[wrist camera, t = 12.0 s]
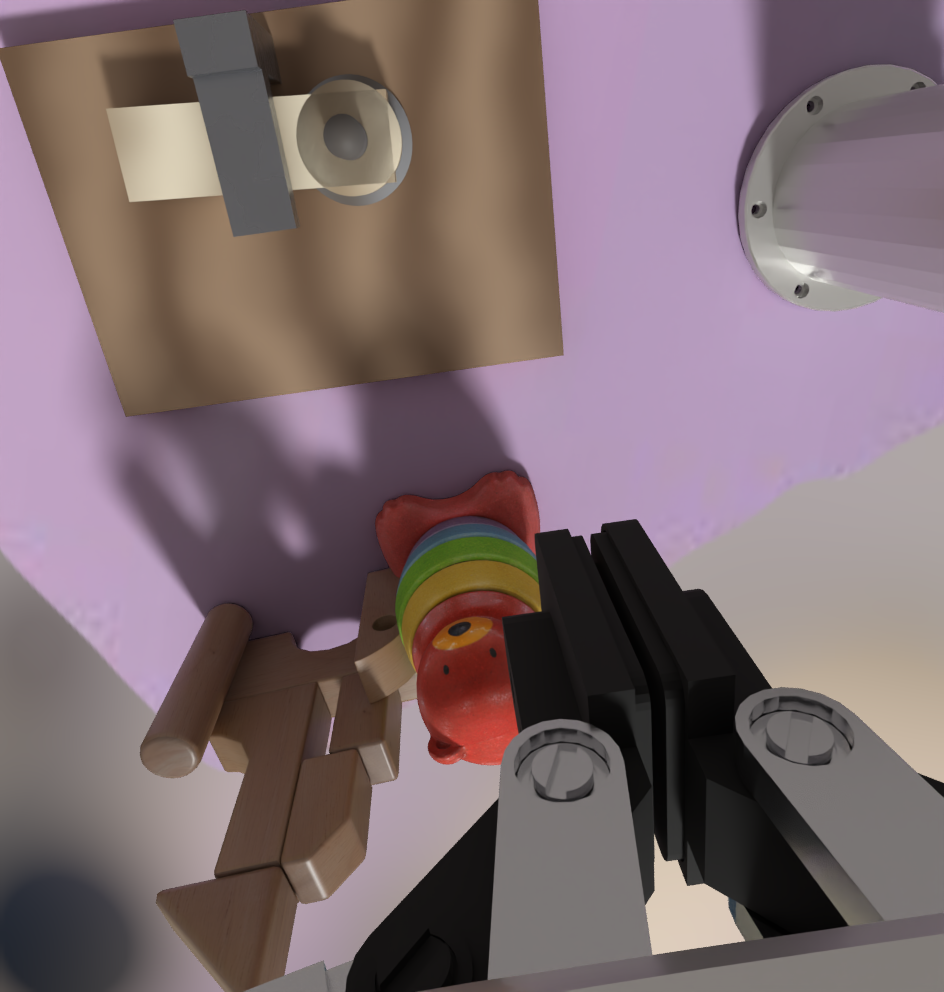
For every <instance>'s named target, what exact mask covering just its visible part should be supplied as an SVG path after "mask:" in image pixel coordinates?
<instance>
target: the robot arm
mask: <svg viewBox="0 0 944 992" xmlns="http://www.w3.org/2000/svg"><path fill="white" fill-rule="evenodd" d="M808 102H809V103H810V110H809V111H808V112H807V103H808ZM753 205H755V206H756V211H755V212H754V213H753V214H752V212H751V210H752V206H753ZM738 220H739V229H740V239H741V242H742V245H743V248H744V252H745V255H746V258H747V260H748V262H749V264H750V265H751V267H752V269H753V271H754V273H755V274H756V276H757V277H758V278H759V279H760V280H761V281H762V283H763V284H764V285H765V286H766V287H767V288H768V289H769V290H770V291H772V292H773V293H775V294H776V295H778V296H779V297H780V298H782V299H783V300H786V301H788V302H791V303H793V304H796V305H798V306H801V307H805V308H809V309H813V310H819V311H842V310H849V309H855V308H858V307H861V306H864V305H867V304H870V303H873V302H876V301H878V300H879V299H881V298H886V299H890V300H894V301H898V302H902V303H906V304H910V305H914V306H918V307H922V308H926V309H930V310H934V311H938V312H942V313H944V84H940V85H938V84H937V83H935V82H934V81H933V80H932V79H931V78H929V77H927V76H925V75H923V74H921V73H919V72H917V71H915V70H913V69H910V68H906V67H901V66H896V65H892V64H884V65H866V66H862V67H857V68H853V69H848V70H846V71H843V72H840V73H837V74H834V75H832V76H829V77H826V78H824V79H823V80H821V81H819V82H818V83H816V84H814V85H813V86H811V87H809V88H807V89H806V90H804V91H803V92H802V93H801V94H800V95H798V96H797V97H796V98H795V99H794V100H792V101H791V102H790V103H789V104H788V105H787V106H785V108H784V109H783V110H782V111H781V112H780V113H779V115H778V116H777V117H776V118H775V119H774V120H773V122H772V123H771V124H770V125H769V126H768V128H767V130H766V131H765V133H764V134H763V136H762V138H761V139H760V141H759V142H758V144H757V146H756V147H755V150H754V152H753V154H752V157H751V159H750V161H749V164H748V166H747V169H746V171H745V175H744V179H743V183H742V188H741V192H740V200H739V213H738ZM797 286H798V290H797V291H796V292H795V293H794V291H795V288H796V287H797ZM590 543H591V554H590V552H589V550H588V547H587V545H586V543H585V541H584V539H583V537H582V536H575V537H571V535H570V532H569V530H568V529H563V530H556V531H549V532H542V533H535V551H536V560H537V570H538V580H539V590H540V600H541V610H542V611H540V612H533V613H526V614H519V615H512V616H505V617H502V625H503V633H504V641H505V649H506V656H507V664H508V671H509V678H510V685H511V691H512V698H513V704H514V710H515V716H516V722H517V727H518V733H519V734H518V735H517V736H515V737H514V738H513V739H512V741H511V742H510V743H509V745H508V746H507V748H506V749H505V751H504V754H503V758H502V762H501V771H500V788H499V798H498V799H497V800H496V801H495V802H494V804H493V805H492V806H491V807H490V808H489V809H488V810H487V811H486V812H485V813H484V814H483V815H482V816H481V817H480V818H479V819H478V821H477V822H476V823H475V824H474V825H473V826H472V827H471V828H470V829H469V830H468V831H467V832H466V833H465V834H464V835H463V837H462V838H461V839H460V840H459V841H458V842H457V843H456V844H455V845H454V846H453V847H452V848H451V849H450V850H449V852H448V853H447V854H446V855H445V856H444V857H443V858H442V859H441V860H440V861H439V862H438V863H437V864H436V865H435V866H434V867H433V869H432V870H431V871H430V872H429V873H428V874H427V875H426V876H425V877H424V878H423V879H422V880H421V881H420V882H419V884H418V885H417V886H416V887H415V888H414V889H413V890H412V891H411V892H410V893H409V894H408V895H407V896H406V897H405V898H404V899H403V901H401V903H400V904H399V905H398V906H397V907H396V908H395V909H394V910H393V911H392V912H391V913H390V914H389V915H388V916H387V917H386V919H385V920H384V921H383V922H382V923H381V924H380V925H379V926H378V927H377V928H376V929H375V930H374V931H373V932H372V933H371V935H370V936H369V937H368V938H367V940H366V941H365V943H364V944H363V945H362V947H361V948H360V950H359V951H358V952H357V954H356V955H355V958H354V960H352V961H349V962H347V963H344V964H342V965H339V966H336V967H334V968H331V969H329V970H327V969H326V966H325V964H324V961H321V962H318V963H316V964H313V965H311V966H308V967H305V968H303V969H300V970H298V971H295V972H292V973H290V974H287V975H285V976H282V977H279V978H277V979H274V980H272V981H269V982H267V983H264V984H261V985H259V986H256V987H254V988H251V989H249V990H246V991H243V992H944V783H942V782H940V781H937V780H934V779H932V778H929V777H927V776H924V775H921V774H919V773H917V772H916V771H915V770H914V769H913V768H911V766H909V765H908V764H907V763H906V762H905V761H904V760H903V759H902V758H901V757H900V756H899V755H898V754H897V753H896V752H895V751H894V750H893V749H891V748H890V747H889V746H888V745H887V744H886V743H885V742H884V741H883V740H882V739H881V738H880V737H879V736H878V735H876V733H875V732H873V731H872V730H871V729H870V728H869V727H868V726H867V725H866V724H865V723H864V722H863V721H862V720H861V719H860V718H859V717H858V716H856V715H855V714H854V713H853V712H852V711H850V710H849V709H848V708H846V707H845V706H844V705H842V704H841V703H839V702H837V701H835V700H833V699H831V698H829V697H827V696H825V695H823V694H820V693H816V692H812V691H808V690H805V689H799V688H785V687H780V688H774V689H772V687H771V686H770V685H769V683H768V682H767V680H766V679H765V677H764V676H763V674H762V673H761V672H760V670H759V669H758V667H757V666H756V664H755V663H754V661H753V660H752V658H751V657H750V656H749V654H748V653H747V651H746V650H745V648H744V647H743V645H742V644H741V643H740V641H739V640H738V638H737V637H736V635H735V634H734V632H733V631H732V629H731V628H730V627H729V625H728V624H727V622H726V621H725V619H724V618H723V617H722V615H721V613H720V612H719V611H718V609H717V608H716V606H715V605H714V603H713V602H712V601H711V599H710V598H709V596H708V595H707V594H706V593H705V592H704V591H703V590H701V589H694V590H687V591H682V589H681V588H680V586H679V585H678V583H677V582H676V580H675V578H674V577H673V575H672V574H671V572H670V570H669V569H668V567H667V566H666V564H665V563H664V561H663V559H662V558H661V556H660V555H659V553H658V552H657V550H656V548H655V547H654V545H653V544H652V542H651V540H650V539H649V537H648V536H647V534H646V533H645V531H644V529H643V528H642V526H641V525H640V523H639V522H638V521H637V519H633V520H626V521H619V522H612V523H605V524H602V527H601V533H596V534H591V538H590ZM654 834H655V837H656V840H657V843H658V846H659V848H660V851H661V854H662V856H663V858H664V860H666V861H672V860H678V862H679V865H680V868H681V870H682V873H683V876H684V879H685V881H686V884H687V886H690V885H696V884H703V883H705V884H706V885H708V886H710V887H712V888H713V889H715V890H717V891H719V892H721V893H722V894H724V895H726V896H727V897H728V905H729V909H730V912H731V914H732V917H733V919H734V922H735V924H736V926H737V927H738V929H739V931H740V933H741V934H742V936H743V937H744V939H745V942H738V943H731V944H724V945H717V946H711V947H703V948H697V949H690V950H684V951H677V952H670V953H663V954H657V955H652V950H651V943H650V936H649V929H648V922H647V915H646V909H645V905H646V903H647V901H648V900H649V898H650V897H651V895H652V894H653V892H654V858H655V857H654Z"/></svg>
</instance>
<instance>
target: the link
mask: <svg viewBox="0 0 944 992" xmlns="http://www.w3.org/2000/svg"><path fill="white" fill-rule="evenodd" d="M273 101H274V106H275V111H276V115H277V120H278V124H279V129H280V134H281V138H282V143H283V148H284V152H285V157H286V162H287V166H288V171H289V176H290V180H291V185H292V190H300V189H313V188H326V189H328V190H330V191H332V192H334V193H336V194H340V195H344V196H361V195H366V194H370V193H373V192H375V191H377V190H379V189H380V188H382V187H383V186H384V185H385V184H387V183H394V182H397V179H396V170H397V168H398V166H399V163H400V160H401V155H402V134H401V129H400V126H399V123H398V120H397V118H396V115H395V113H394V111H393V110H392V108H391V106H390V105H389V102H388V93H387V91H386V89H377V90H375V89H373V88H372V87H370V86H368V85H366V84H364V83H361V82H358V81H354V80H335V81H332V82H328V83H326V84H324V85H322V86H321V87H319V88H318V89H316V90H315V91H314V92H313V93H312V94H307V95H293V96H279V97H273ZM106 111H107V115H108V119H109V123H110V127H111V131H112V135H113V139H114V143H115V147H116V151H117V155H118V159H119V163H120V167H121V171H122V175H123V178H124V182H125V186H126V190H127V194H128V198H129V202H138V201H153V200H166V199H180V198H193V197H206V196H220V195H223V194H222V190H221V186H220V182H219V178H218V174H217V170H216V166H215V163H214V159H213V155H212V151H211V147H210V143H209V139H208V135H207V131H206V127H205V123H204V119H203V115H202V111H201V107H200V104H199V102H194V103H180V104H166V105H151V106H137V107H123V108H109V109H106Z"/></svg>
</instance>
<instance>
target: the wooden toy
mask: <svg viewBox="0 0 944 992" xmlns="http://www.w3.org/2000/svg"><path fill="white" fill-rule="evenodd" d="M399 580H400V578H399V577H397V576H395V575H394V573H393V572H392V570H391V569H390V568H388V569H384V570H379V571H375V572H371V573H368V575H367V581H366V587H365V594H364V600H363V607H362V613H361V620H360V626H359V633H358V638H356V639H354V640H353V641H351V642H349V643H347V644H344V645H341V646H338V647H335V648H332V649H329V650H320V651H307V650H303V649H298V648H297V645H296V643H295V640H294V638H293V636H292V634H291V633H290V632H287V633H282V634H278V635H274V636H269V637H265V638H260V639H256V640H252V641H248V640H249V637H250V634H251V632H252V628H253V623H252V619H251V616H250V615H249V613H248V612H247V611H246V610H245V609H244V608H243V607H241V606H238V605H236V604H230V603H227V604H221V605H218V606H216V607H214V608H213V609H212V610H210V611H209V613H208V615H207V616H206V618H205V620H204V622H203V624H202V626H201V628H200V630H199V632H198V634H197V636H196V638H195V640H194V642H193V644H192V646H191V648H190V650H189V652H188V654H187V656H186V658H185V660H184V662H183V664H182V666H181V668H180V670H179V671H178V673H177V675H176V677H175V679H174V681H173V683H172V685H171V687H170V689H169V691H168V693H167V695H166V697H165V699H164V701H163V703H162V705H161V707H160V709H159V711H158V713H157V715H156V717H155V719H154V721H153V723H152V725H151V727H150V728H149V731H148V732H147V735H146V736H145V739H144V740H143V742H142V744H141V747H140V757H141V760H142V763H143V765H144V766H145V767H146V768H147V769H148V770H149V771H151V772H152V773H154V774H156V775H159V776H161V777H166V778H179V777H183V776H186V775H188V774H189V773H191V772H192V771H193V770H194V769H195V768H197V767H198V765H199V763H200V762H201V759H202V757H203V754H204V752H205V749H206V747H207V744H208V742H209V741H210V743H211V745H212V747H213V748H214V750H215V752H216V754H217V756H218V758H219V760H220V762H221V764H222V766H223V768H224V770H225V771H227V772H241V773H244V774H245V775H244V778H243V781H242V785H241V788H240V791H239V794H238V797H237V800H236V804H235V807H234V810H233V813H232V816H231V820H230V823H229V826H228V829H227V832H226V835H225V839H224V842H223V845H222V848H221V852H220V854H219V857H218V861H217V864H216V867H215V870H214V875H215V878H216V879H213V880H208V881H204V882H199V883H194V884H189V885H185V886H180V887H175V888H171V889H166V890H162V891H161V892H159V893H158V894H157V899H156V904H157V905H158V907H159V909H160V910H161V911H162V913H163V914H164V916H165V918H166V919H167V921H168V922H169V924H170V926H171V927H172V928H173V930H174V931H175V932H176V934H177V935H178V936H179V937H180V938H181V940H182V941H183V942H184V943H185V944H186V945H187V947H188V948H189V949H190V950H191V952H192V953H193V954H194V955H195V957H196V958H197V959H198V960H199V961H200V963H201V964H202V965H203V966H204V967H205V969H206V970H207V971H208V972H209V973H210V974H211V976H212V977H213V978H214V979H215V981H216V982H217V983H218V984H219V985H220V987H221V988H222V989H223V990H224V991H225V992H243V991H246V990H249V989H251V988H254V987H256V986H259V985H261V984H264V983H267V982H269V981H272V980H274V979H277V978H279V977H282V976H284V974H285V968H286V963H287V957H288V952H289V946H290V941H291V935H292V930H293V925H294V919H295V914H296V908H297V903H298V902H299V901H300V902H301V903H303V904H308V903H312V902H317V901H322V900H325V899H328V898H329V897H330V896H331V895H332V894H333V893H334V892H335V891H336V890H337V889H338V888H339V886H341V885H342V883H343V882H344V881H345V880H346V879H347V878H348V877H349V876H350V875H351V874H352V873H353V872H354V871H355V869H356V868H357V867H358V866H359V865H360V864H361V863H362V862H363V860H364V859H365V856H366V850H367V839H368V829H369V818H370V806H371V797H372V786H371V785H375V784H379V783H384V782H389V781H394V780H395V779H397V777H398V773H399V753H400V733H401V714H402V702H405V701H410V700H414V699H417V686H416V682H417V673H416V671H415V670H414V668H413V666H412V664H411V662H410V660H409V658H408V655H407V653H406V650H405V647H404V645H403V643H402V640H401V637H400V634H399V630H398V626H397V620H396V613H395V602H396V594H397V589H398V584H399ZM332 717H335V720H334V725H333V731H332V737H331V743H330V748H329V753H330V754H328V755H325V754H326V748H327V742H328V737H329V731H330V726H331V720H332Z"/></svg>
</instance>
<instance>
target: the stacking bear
mask: <svg viewBox="0 0 944 992" xmlns="http://www.w3.org/2000/svg"><path fill="white" fill-rule="evenodd" d="M375 527H376V534H377V537H378V541H379V545H380V547H381V550H382V553H383V555H384V557H385V559H386V561H387V563H388V565H389V567H390V569H391V570H392V572H393V573H394V575H395V576H397V577H399V578H400V580H399V584H398V589H397V594H396V602H395V613H396V620H397V626H398V630H399V634H400V637H401V640H402V643H403V645H404V647H405V650H406V653H407V655H408V658H409V660H410V662H411V664H412V666H413V668H414V670H415V671H416V673H417V682H416V686H417V700H418V705H419V709H420V713H421V716H422V719H423V721H424V723H425V725H426V727H427V729H428V731H429V733H430V735H431V738H430V740H429V743H428V751H429V754H430V756H431V757H432V758H433V759H434V760H435V761H437V762H439V763H442V764H453V763H456V762H457V761H459V760H461V759H462V760H465V761H468V762H471V763H476V764H481V765H500V764H501V762H502V758H503V754H504V751H505V749H506V748H507V746H508V745H509V743H510V742H511V741H512V739H513V738H514V737H515V736H517V735H518V734H519V733H518V727H517V722H516V716H515V710H514V704H513V698H512V691H511V685H510V678H509V671H508V664H507V656H506V649H505V641H504V633H503V625H502V617H505V616H512V615H519V614H526V613H533V612H540V611H542V610H541V600H540V590H539V580H538V570H537V560H536V551H535V533H540V519H539V511H538V505H537V501H536V498H535V494H534V491H533V488H532V486H531V484H530V482H529V481H528V480H527V479H526V478H524V477H519V476H517V475H516V473H515V472H513V471H503V472H501V473H498V472H493V473H489V474H487V475H485V476H484V477H482V478H481V479H480V480H479V481H478V482H477V483H476V484H475V485H474V486H473V487H471V488H470V489H469V490H467V491H466V492H464V493H462V494H460V495H458V496H455V497H452V498H447V499H439V500H432V499H426V498H422V497H418V496H414V495H403V496H400V497H399V498H397V499H395V500H388V501H386V502H385V504H384V505H383V510H382V511H381V512H379V513H378V515H377V517H376V521H375Z"/></svg>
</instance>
